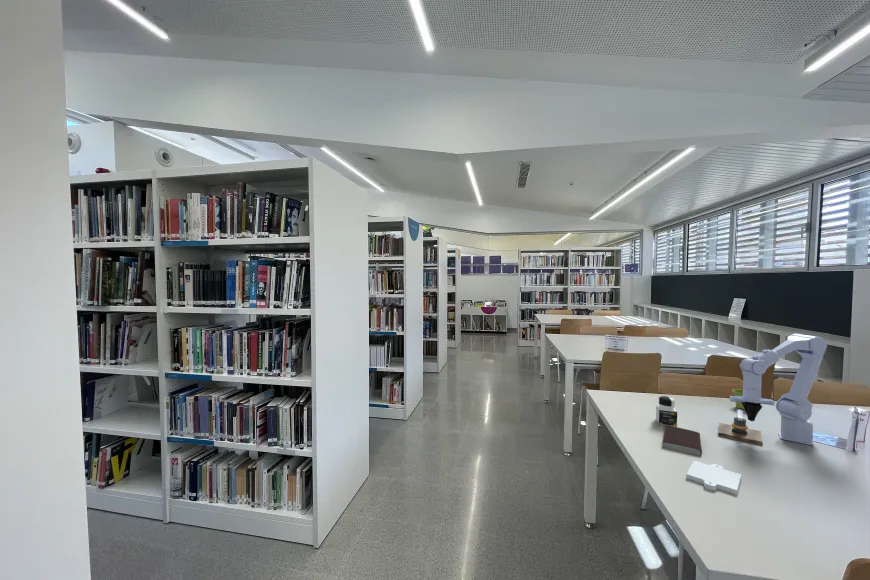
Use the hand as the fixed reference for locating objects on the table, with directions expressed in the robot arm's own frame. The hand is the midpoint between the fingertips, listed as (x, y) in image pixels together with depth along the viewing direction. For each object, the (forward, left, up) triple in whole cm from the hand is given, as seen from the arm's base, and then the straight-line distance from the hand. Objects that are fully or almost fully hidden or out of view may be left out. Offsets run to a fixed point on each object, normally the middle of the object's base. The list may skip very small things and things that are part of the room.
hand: (751, 420), depth 149 cm
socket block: (+3, -2, -8) cm, 9 cm away
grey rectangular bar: (+3, -3, 0) cm, 5 cm away
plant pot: (+1, -48, -8) cm, 49 cm away
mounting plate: (+10, +49, -9) cm, 51 cm away
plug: (+3, -2, -8) cm, 9 cm away
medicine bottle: (+29, +3, -8) cm, 31 cm away
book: (+22, +23, -9) cm, 33 cm away
